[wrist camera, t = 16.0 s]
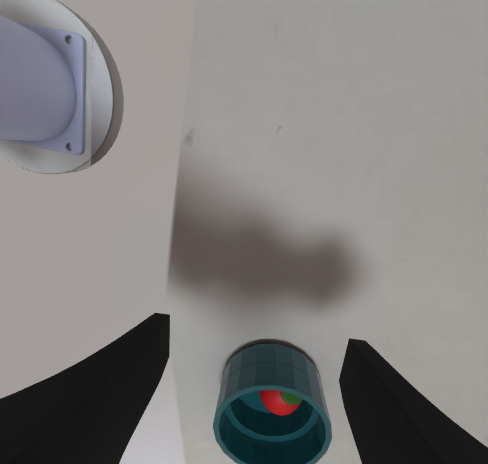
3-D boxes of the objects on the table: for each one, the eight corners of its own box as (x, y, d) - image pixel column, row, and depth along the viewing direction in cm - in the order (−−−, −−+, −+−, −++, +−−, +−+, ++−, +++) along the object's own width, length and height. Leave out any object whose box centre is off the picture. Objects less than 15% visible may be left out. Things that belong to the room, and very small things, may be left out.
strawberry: (248, 405, 21) (267, 411, 17) (258, 360, 22) (277, 359, 19) (285, 417, 21) (310, 425, 18) (292, 373, 23) (316, 373, 20)
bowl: (216, 404, 24) (205, 459, 20) (232, 329, 22) (223, 374, 17) (305, 424, 24) (313, 485, 19) (331, 351, 21) (347, 401, 17)
